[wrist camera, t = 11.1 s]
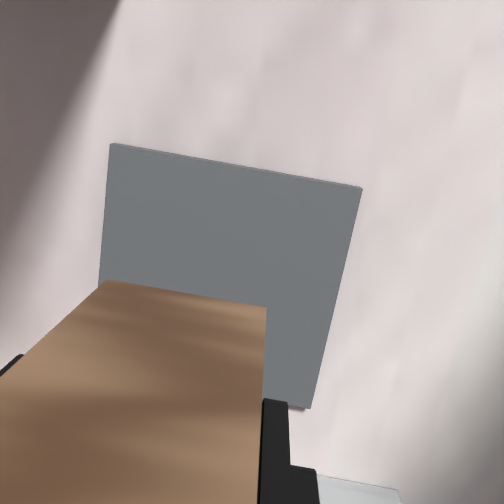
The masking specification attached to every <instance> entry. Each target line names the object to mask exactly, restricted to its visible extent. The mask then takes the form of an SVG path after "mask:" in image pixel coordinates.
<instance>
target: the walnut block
mask: <svg viewBox="0 0 504 504" xmlns="http://www.w3.org/2000/svg"><path fill="white" fill-rule="evenodd" d="M266 312H267V307H261V306H256V305H250V304H244V303H239V302H233V301H228V300H222V299H216V298H211V297H205V296H200V295H194V294H189V293H183V292H177V291H172V290H166V289H161V288H155V287H149V286H144V285H138V284H133V283H127V282H122V281H116V280H110V279H107V280H105V281H104V282H103V283H102V284H101V285H100V286H99V287H98V288H97V289H96V290H95V291H93V292H92V293H91V294H90V295H89V296H88V297H87V298H86V299H85V300H84V301H83V302H82V303H80V304H79V305H78V306H77V307H76V308H75V309H74V310H73V311H72V312H71V313H70V314H68V315H67V316H66V317H65V318H64V319H63V320H62V321H61V322H60V323H59V324H58V325H56V326H55V327H54V328H53V329H52V330H51V331H50V332H49V333H48V334H47V335H46V336H45V337H43V338H42V339H41V340H40V341H39V342H38V343H37V344H36V345H35V346H34V347H33V348H31V349H30V350H29V351H28V352H27V353H26V354H25V355H24V356H23V357H22V358H21V359H19V360H18V361H17V362H16V363H15V364H14V365H13V366H12V367H11V368H10V369H9V370H8V371H6V372H5V373H4V374H3V375H2V376H1V377H0V504H257V486H258V467H259V448H260V428H261V409H262V390H263V370H264V351H265V331H266Z"/></svg>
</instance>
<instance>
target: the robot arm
mask: <svg viewBox="0 0 504 504" xmlns="http://www.w3.org/2000/svg"><path fill="white" fill-rule="evenodd" d="M23 356H24V355H23V354H19V355H17V356H16V357H15V358H14V359H13V360H12V361H10V362H9V363H8V364H7V365H6V366H5V367H4V368H3V369H1V370H0V377H1V376H2V375H3V374H4V373H5V372H6V371H8V370H9V369H10V368H11V367H12V366H13V365H14V364H15V363H16V362H17V361H18V360H19V359H21V358H22V357H23ZM257 504H320V499H319V490H318V481H317V475H316V471H315V469H311V468H305V467H300V466H294V465H290V443H289V419H288V402H285V401H280V400H274V399H269V398H264V399H263V402H262V409H261V428H260V448H259V467H258V486H257Z"/></svg>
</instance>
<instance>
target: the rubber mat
mask: <svg viewBox="0 0 504 504" xmlns="http://www.w3.org/2000/svg"><path fill="white" fill-rule="evenodd" d="M362 190H363V189H362V188H361V187H357V186H352V185H346V184H340V183H335V182H329V181H324V180H318V179H313V178H307V177H301V176H296V175H290V174H285V173H279V172H274V171H268V170H262V169H257V168H251V167H246V166H240V165H235V164H229V163H224V162H218V161H212V160H207V159H201V158H196V157H190V156H185V155H179V154H173V153H168V152H162V151H157V150H151V149H146V148H140V147H134V146H129V145H123V144H118V143H112V144H110V149H109V161H108V173H107V185H106V197H105V209H104V221H103V233H102V245H101V257H100V269H99V281H98V287H99V286H100V285H101V284H102V283H103V282H104V281H105V280H107V279H110V280H116V281H122V282H127V283H133V284H138V285H144V286H149V287H155V288H161V289H166V290H172V291H177V292H183V293H189V294H194V295H200V296H205V297H211V298H216V299H222V300H228V301H233V302H239V303H244V304H250V305H256V306H261V307H267V312H266V331H265V351H264V370H263V390H262V400H263V399H264V398H269V399H274V400H280V401H285V402H288V405H291V406H296V407H302V408H307V409H310V408H311V404H312V400H313V396H314V392H315V387H316V383H317V379H318V375H319V371H320V366H321V362H322V358H323V354H324V350H325V345H326V341H327V337H328V333H329V329H330V324H331V320H332V316H333V312H334V308H335V303H336V299H337V295H338V291H339V287H340V282H341V278H342V274H343V270H344V266H345V261H346V257H347V253H348V249H349V245H350V240H351V236H352V232H353V228H354V224H355V219H356V215H357V211H358V207H359V203H360V198H361V194H362Z"/></svg>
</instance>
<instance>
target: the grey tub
mask: <svg viewBox="0 0 504 504" xmlns="http://www.w3.org/2000/svg"><path fill="white" fill-rule="evenodd" d="M317 481H318V490H319V499H320V504H402V503H401V500H400V496H399V493H398V490H393V489H388V488H383V487H377V486H372V485H367V484H362V483H356V482H351V481H346V480H340V479H335V478H330V477H324V476H319V475H317Z"/></svg>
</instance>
